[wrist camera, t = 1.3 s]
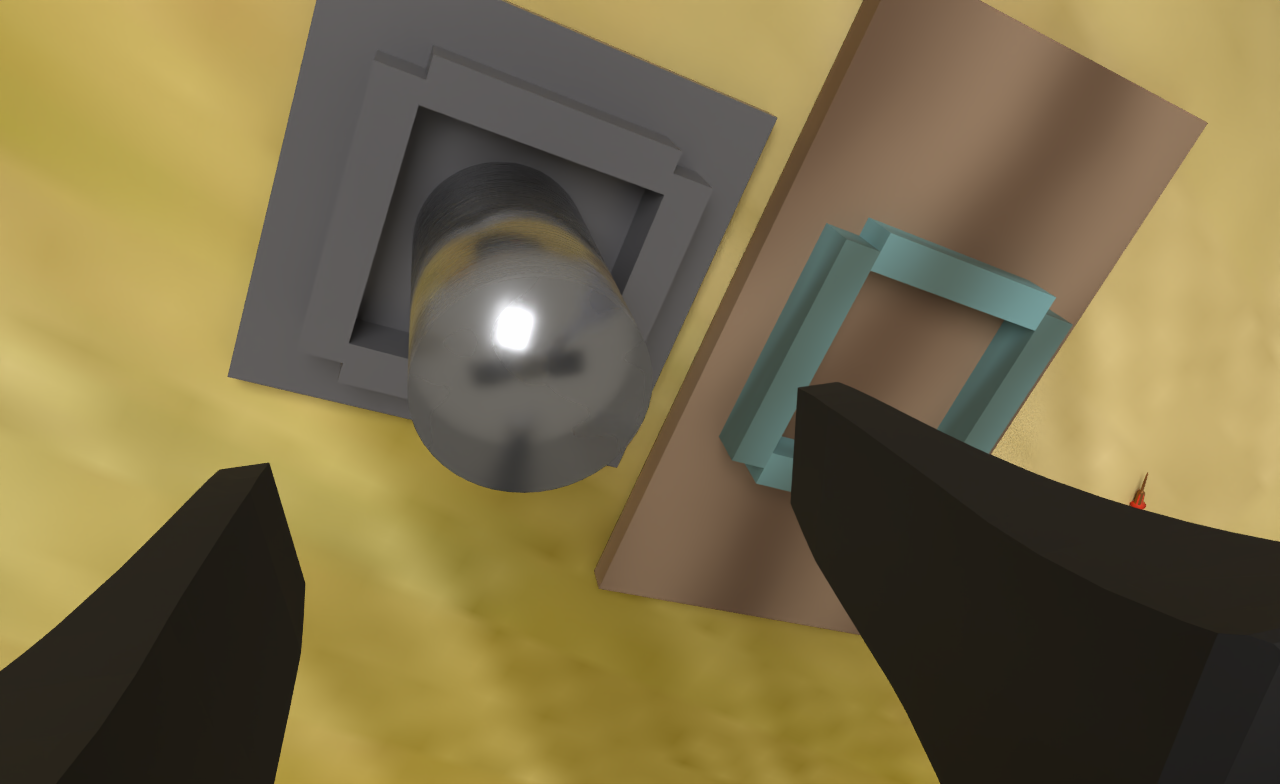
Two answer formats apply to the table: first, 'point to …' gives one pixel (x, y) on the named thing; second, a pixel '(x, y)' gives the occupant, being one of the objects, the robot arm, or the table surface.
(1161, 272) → the table surface
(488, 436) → the peg
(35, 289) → the table surface
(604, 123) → the socket block
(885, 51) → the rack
